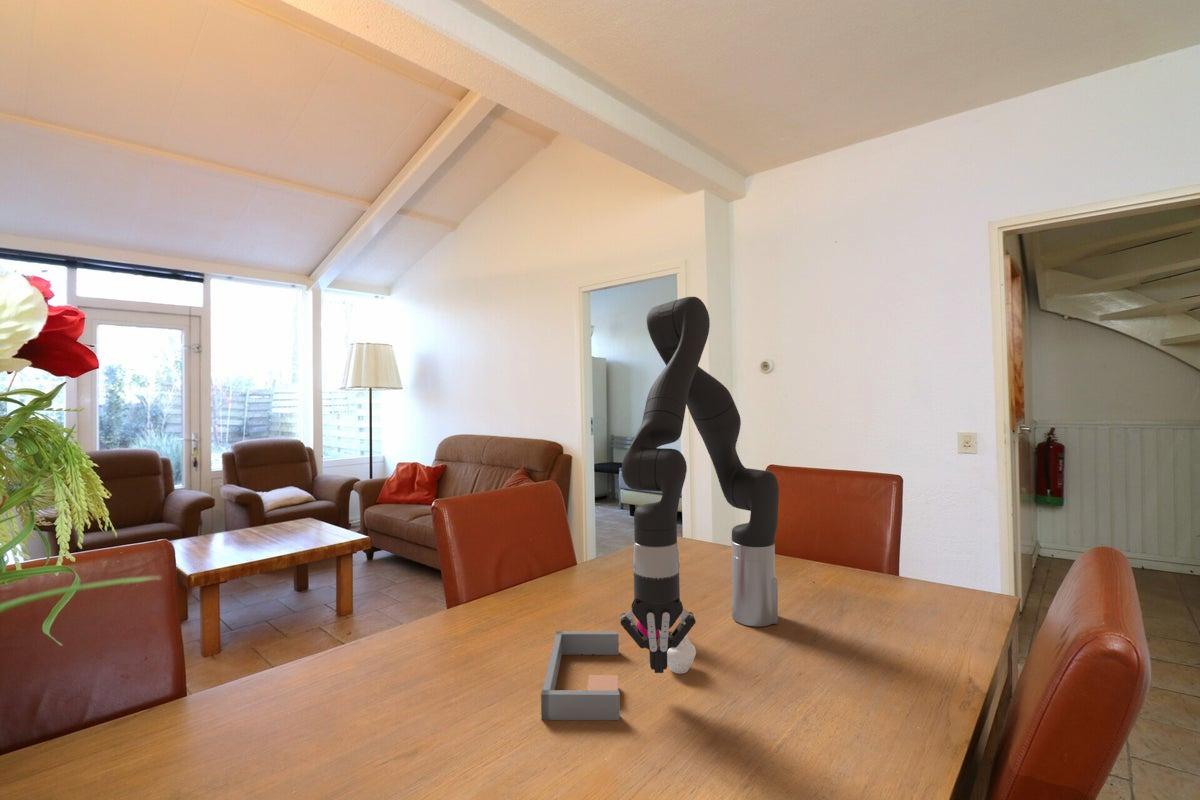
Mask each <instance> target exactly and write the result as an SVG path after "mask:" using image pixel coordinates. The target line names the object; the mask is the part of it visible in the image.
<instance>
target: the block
mask: <svg viewBox="0 0 1200 800" xmlns="http://www.w3.org/2000/svg"><path fill="white" fill-rule="evenodd" d="M586 689H587V690H600V691H619V675H616V674H615V675H614V674H613V675H612V674H609V675H608V674H589V675H588V681H587V688H586Z"/></svg>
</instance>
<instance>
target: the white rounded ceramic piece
mask: <svg viewBox="0 0 1200 800" xmlns="http://www.w3.org/2000/svg"><path fill="white" fill-rule="evenodd" d="M696 654H697V649H696V647H695V646H694V644H692V642H691V640H690V638H689V635H688V634H687V635H686V636H685V637H684V639H683V640H682V641H681V642H680V644H679V645H678V646H677V647H676V648H673V647H672V648H669V649H668V651H667V667H668V668H669V670H670V671H671V672H673V673H674V674H678V675H679V674H680V675H681V674H686V673H687V672H689V669H690V668H691V666H692V664H693V662H694V661H695V656H696Z"/></svg>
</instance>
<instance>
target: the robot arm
mask: <svg viewBox="0 0 1200 800" xmlns="http://www.w3.org/2000/svg"><path fill="white" fill-rule="evenodd" d="M710 321H711V320H710V315H709V311H708V308H707V307H706V304H704V302H703V301H702V299H700V298H699V297H697V296H686V297H683V298H679V299H676V300H673V301H669V302H664V303H662V304H659V305H656V306H653V307H651V308H650V309H649V311H647V314H646V327H647V331H648V334H649V336H650V337H649V338H650V339H651V341H652V343H653V345H654V347H655V350H656V351H657V353H658V354H659V355H660V358H661V359H662V361H663V363H664V364H665V367H664V368H663V369H662V370H661V371H660V374H659V375H658V376H657V378H656V379H655V381H654V382H653V384H652V386H651V387H650V389H649V392H648V394H647V398H646V400H645V401H646V402H645V406H644V411H643V416H642V420H641V424H640V426H639V428H638V430H637V432H636V434H635V436H634V437H633V439H632V441H631V443H630V444H629V447H628V448H627V450H626V452H625V455H624V456H623V459H622V462H621V463H622V464H621V477H622V480H623V482H624V483H625V486H627V488H629V489H631V490H636V491H646V492H647V491H649V492H662V496H661V499H660V500H659V501H657V502H650V503H645V504H641V505H638V506H637V507H636V508H635V509H634V510H635V511H634V514H633V529H634V532H633V533H634V535H633V536H634V544H633V545H634V546H633V554H632V555H633V558H632V559H633V568H632V569H633V592H634V594H633V596H634V598H633V601H632V603H631V609H630V610H628V611H627V612H623V613H621V614H620V620H619V621H620V625H621V626H622V627H623V629H624V630H625V632H627V634H628V635H629V636H630V637H631V638H632V640H633V641H634V642H635V644H636V645H637V646H638V647H639V648H640V649H646V650H648V651H649V666H650V669H651V670H652V671H654V674H664V670H667V668H668V664H667V651H668V649H669V648H672V647H673V648H676V647H677V646H678V645H679V644H680V642H681V641H682V640H683V639H684V637H685V636H686V635H688V633H689V632H690V631H691V630H692V628H693V627H694V626H695V624H696V617H695V615H694V613H693V612H691V611H688V610H686V609H684V606H683V603H682V601H681V598H680V595H681V593H680V592H681V591H680V569H681V568H680V567H681V564H680V555H679V554H680V553H679V548H678V547H679V546H678V530H677V529H678V527H677V526H678V525H677V524H678V521H677V520H678V519H677V518H678V510H679V504H680V499H681V495H682V490H683V487H684V484H685V481H686V475H687V470H688V469H687V468H688V466H687V461H686V457H684V455H683V453H682V452H680V450H678V449H676V448H675V449H674V448H661V446H666V445H669V444H672V443H676V442H677V441H678V440H680V438H681V435H682V434H683V433H682V432H683V426H684V421H685V417H686V416H685V414H686V409H688V411H689V414H690V416H691V419H692V421H693V423H694V425H695V427H696V429H697V431H698V433H699V434H700V437H701V438H702V441H703V443H704V446H705V448H706V451H707V453H708V455H709V458H710V460H711V462H712V465H713V467H714V471H715V473H716V477H717V479H718V482H719V485H720V489H721V491H722V494H723V497H724V499H725V500H726V502H727V503H728V504H729V505H731V507H734V508H736V509H739V510H743V511H750V514H749V515H750V516H749V522H746V523H741V524H737V525H735V526H733V527H732V529H731V617H732V619H733V620H734V621H735V622H737V623H738V624H741V625H744V626H748V627H758V628H759V627H767V626H770V625H773V624H779V618H778V617H779V613H778V612H779V605H778V604H779V600H778V599H779V597H778V595H779V593H778V592H779V591H778V590H779V589H778V588H779V587H778V586H779V584H778V583H779V582H778V578H777V577H776V574H775V573H776V572H775V571H776V566H775V565H776V562H775V561H776V559H775V558H776V557H775V556H776V554H775V553H776V550H775V549H776V545H775V544H776V543H775V541H776V534H777V531H778V530H777V529H778V525H779V524H778V521H779V518H778V517H779V502H780V501H779V500H780V489H779V482H778V479H777V477H776V475H775V474H774V473H773V472H772V471H769V470H764V469H756V468H749V467H748V468H746V467H745V466H744V465H743V463H742V462H741V460H740V458H739V457H740V456H739V455H738V452H737V448H736V447H737V442H738V438H739V434H740V430H741V427H742V426H741V424H742V421H741V416H740V413H739V410H738V408H737V406H736V403H735V401H734V398H733V396H732V394H731V392H730V391H729V389H728V388H727V387H726V386H725V385H724V384H723V383H721V382H720V380H718V379H717V378H715V377H714V376H712V375H711V374H710V373H709V372H707V371H705V370H704V369H702V368H701V367H700V366H699V365H700V364H699V363H700V362H701V358H702V355H703V352H704V349H705V346H706V344H707V341H708V338H709V332H710V328H711V327H710V324H711V323H710ZM635 616H636V617H635ZM635 619H637V620H639V622H640V623H641V624H642V625H643V627H644V628H646V629H648V637H645V636H644V635H643V634H642V632H641V631H640V630H639V629H638V627H637V624H636V620H635ZM678 619H679V623H678V624H677V626H676V627H675V628H674V629H673V631H671V633H669V631H670V629H671V628H672V627H674V625H675V623H676V622H677V620H678ZM655 630H659V638H658V643H657V638H656V631H655ZM657 644H658V645H657Z"/></svg>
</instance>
